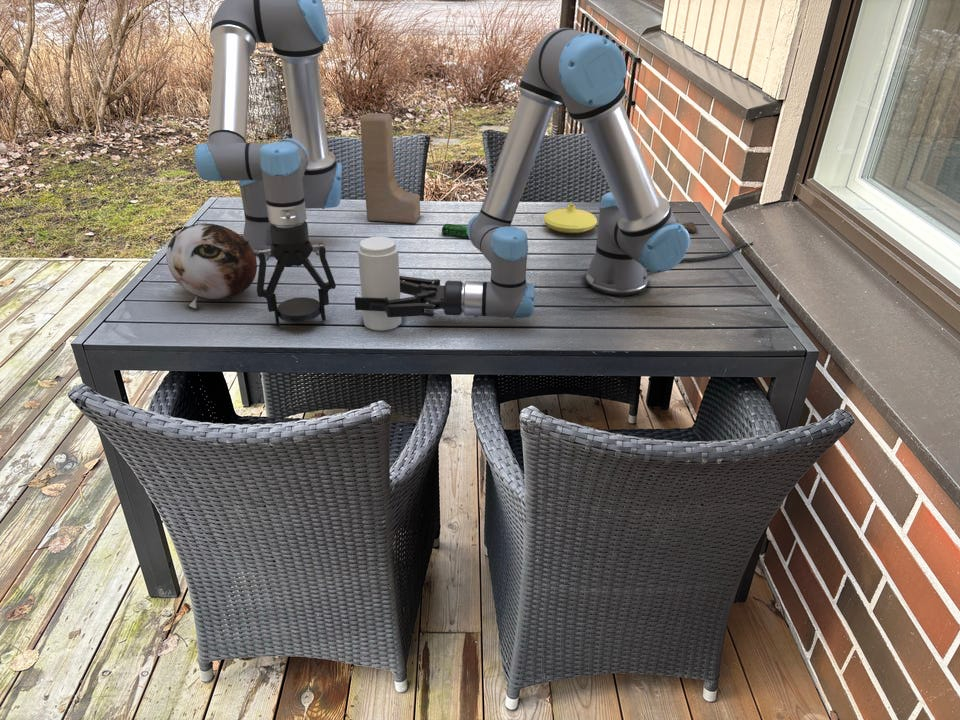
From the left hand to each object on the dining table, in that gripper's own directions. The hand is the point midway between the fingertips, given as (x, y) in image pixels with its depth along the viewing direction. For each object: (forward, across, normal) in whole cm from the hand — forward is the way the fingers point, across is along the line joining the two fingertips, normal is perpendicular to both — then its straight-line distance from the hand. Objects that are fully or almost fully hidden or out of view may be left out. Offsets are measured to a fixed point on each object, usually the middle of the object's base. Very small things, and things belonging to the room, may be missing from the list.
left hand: (300, 320), depth 157 cm
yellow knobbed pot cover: (+1, +81, +40) cm, 90 cm away
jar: (+1, +18, -3) cm, 18 cm away
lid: (-3, 0, 0) cm, 3 cm away
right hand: (-5, +13, -2) cm, 14 cm away
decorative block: (+1, +33, +62) cm, 70 cm away
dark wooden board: (+1, +105, +33) cm, 110 cm away
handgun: (+1, +54, +44) cm, 70 cm away
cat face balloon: (+1, -17, +20) cm, 27 cm away
